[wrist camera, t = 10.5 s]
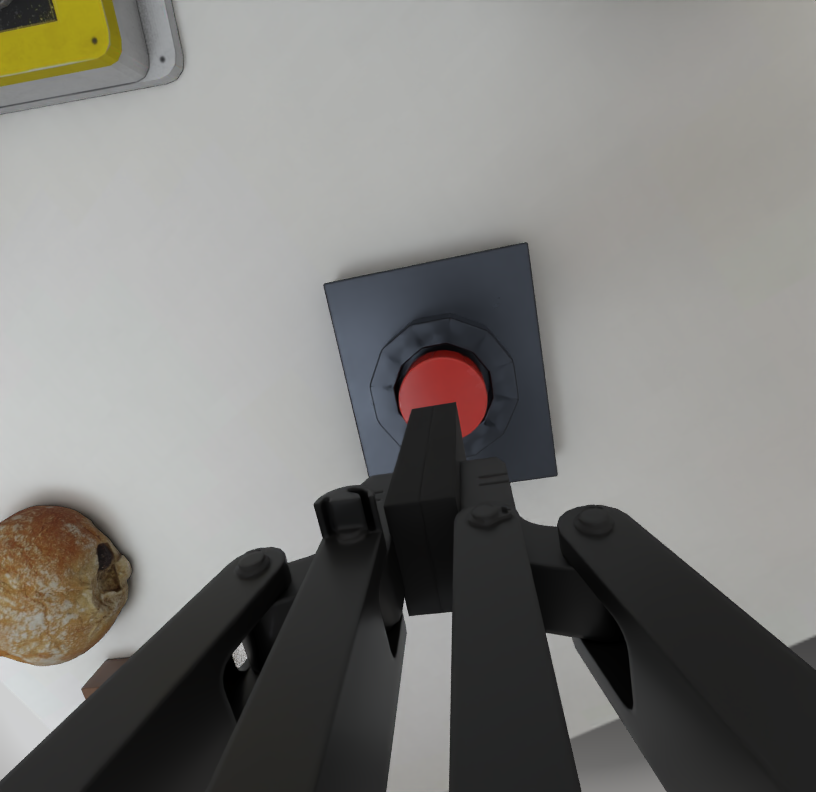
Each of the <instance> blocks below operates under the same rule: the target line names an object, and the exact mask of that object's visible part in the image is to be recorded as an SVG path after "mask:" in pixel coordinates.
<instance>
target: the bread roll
mask: <svg viewBox="0 0 816 792" xmlns="http://www.w3.org/2000/svg"><path fill="white" fill-rule="evenodd" d="M131 574H132V569H131V566H130V562H128V561H127V559H126V558H125V557H124V555H121V554H120V552H119V551H118V550H117V549H116V548H115V547H114V545H113V544H112V542H111V541H110V539H109V538H108V537H106V536H105V535H104V534H103V533H102V532H101V531H100V530H98V529H97V528H96V527H95V526H94V525H93V523H92V522H91V520H90V519H88V518H86V517H85V516H83V515H82V514H80V513H79V512H78V511H75V510H73V509H69V508H65V507H59V506H33V507H29V508H27V509H24V510H22V511H19V512H17V513H16V514H14V515H12V516H10V517H9V518H7V519H5V520H4V521H2V522H1V523H0V656H4V657H7V658H10V659H13V660H16V661H20V662H23V663H28V664H32V665H36V666H49V665H56V664H61V663H64V662H67V661H70V660H72V659H74V658H76V657H78V656H79V655H81V654H83V653H85V652H86V651H88V650H89V649H90V648H91V647H93V646H94V645H95V644H96V643H97V642H99V640H100V639H101V638H102V637H103V636H104V635H105V634H106V633H107V632H108V630H109V629H110V628H111V626H112V625H113V623H114V622H115V620H116V618H117V616H118V615H119V613H120V611H121V609H122V608H123V606H124V605H125V603H126V601H127V598H128V584H127V579H128V578H129V577H130V576H131Z"/></svg>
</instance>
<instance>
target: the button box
mask: <svg viewBox="0 0 816 792" xmlns="http://www.w3.org/2000/svg"><path fill="white" fill-rule="evenodd" d="M323 286H324V290H325V294H326V298H327V303H328V307H329V311H330V315H331V319H332V324H333V328H334V332H335V336H336V341H337V345H338V349H339V353H340V358H341V362H342V366H343V370H344V374H345V379H346V383H347V387H348V391H349V396H350V400H351V404H352V408H353V413H354V417H355V421H356V425H357V429H358V434H359V438H360V442H361V446H362V451H363V455H364V459H365V463H366V468H367V472H368V476H369V477H370V476H373V475H380V474H387V473H393V472H394V468H395V465H396V461H397V458H398V454H399V451H400V447H401V444H402V441H403V437H404V434H405V430H406V427H407V423H406V422H405V420H404V419H403V417H402V414H401V411H400V408H399V390H400V386H401V384H402V381H403V379H404V377H405V374H406V372H407V370H408V369H409V367H410V366H411V365H412V363H414V362H415V361H416V360H417V359H418V358H419V357H421V356H423V355H425V354H427V353H429V352H433V351H437V350H450V351H455V352H458V353H461V354H463V355H465V356H466V357H468V358H469V359H471V360H472V361H473V362H474V363H475V364H476V365H477V367H478V368H479V369H480V371H481V373H482V375H483V378H484V381H485V385H486V390H487V396H488V404H487V410H486V413H485V416H484V418H483V420H482V421H481V423H480V424H479V425H478V427H477V428H476V429H475V430H474V431H473V432H471V433H470V434H468V435H467V436H465V437H463V444H464V449H465V455H466V460H467V461H469V460H476V459H483V458H490V457H497V458H499V459H500V460H501V461H503V462H504V463H505V464H506V468H507V472H508V477H509V482H517V481H525V480H532V479H539V478H546V477H554V476H557V475H558V472H557V465H556V457H555V449H554V441H553V434H552V426H551V418H550V410H549V403H548V395H547V387H546V379H545V372H544V364H543V356H542V348H541V341H540V333H539V325H538V317H537V310H536V302H535V294H534V286H533V279H532V271H531V263H530V255H529V248H528V243H527V242H525V243H519V244H514V245H510V246H505V247H500V248H495V249H490V250H485V251H480V252H475V253H470V254H466V255H461V256H456V257H451V258H446V259H441V260H436V261H431V262H426V263H421V264H417V265H412V266H407V267H402V268H397V269H392V270H387V271H382V272H377V273H373V274H368V275H363V276H358V277H353V278H348V279H343V280H338V281H333V282H329V283H325V284H324V285H323Z"/></svg>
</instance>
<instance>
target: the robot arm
mask: <svg viewBox="0 0 816 792" xmlns="http://www.w3.org/2000/svg"><path fill="white" fill-rule="evenodd" d="M314 508H315V512H316V515H317V519H318V523H319V526H320V530H321V533H322V537H323V539H322V541H321V543H320V545H319V547H318V550H317V552H316V554H314V555H311V556H308V557H306V558H302V559H299V560H296V561H293V562H290V563H288V562H287V559H286V556H285V553H284V552H283V551H282V550H281V549H279V548H274V547H267V548H257V549H255V550H254V549H253V550H251V551H248V552H246V553H245V554H243V555H241V556H239V557H237V558H236V559H235V560H233V561H232V562H231V563H230V564H228V565H227V566H226V567H225V568H224V569H223V570H222V571H221V572H220V573H219V574H218V575H217V576H216V577H214V578H213V579H212V580H211V581H210V582H209V583H208V584H207V585H206V586H205V587H204V588H203V589H202V590H201V591H200V592H199V593H198V594H197V595H196V596H194V597H193V598H192V599H191V600H190V601H189V602H188V603H187V604H186V605H185V606H184V607H183V608H182V609H181V610H180V611H179V612H178V613H177V614H176V615H174V616H173V617H172V618H171V619H170V620H169V621H168V622H167V623H166V624H165V625H164V626H163V627H162V628H161V629H160V630H159V631H158V632H157V633H156V634H155V635H153V636H152V637H151V638H150V639H149V640H148V641H147V642H146V643H145V644H144V645H143V646H142V647H141V648H140V649H139V650H138V651H137V652H136V653H135V654H133V655H132V656H131V657H130V658H129V659H128V660H127V661H126V662H125V663H124V664H123V665H122V666H121V667H120V668H119V669H118V670H117V671H116V672H115V673H113V674H112V675H111V676H110V677H109V678H108V679H107V680H106V681H105V682H104V683H103V684H102V685H101V686H100V687H99V688H98V689H97V690H96V691H95V692H94V693H92V694H91V695H90V696H89V697H88V698H87V699H86V700H85V701H84V702H83V703H82V704H81V705H80V706H79V707H78V708H77V709H76V710H75V711H74V712H72V713H71V714H70V715H69V716H68V717H67V718H66V719H65V720H64V721H63V722H62V723H61V724H60V725H59V726H58V727H57V728H56V729H55V730H54V731H52V732H51V733H50V734H49V735H48V736H47V737H46V738H45V739H44V740H43V741H42V742H41V743H40V744H39V745H38V746H37V747H36V748H35V749H34V750H33V751H31V752H30V754H28V755H27V756H26V757H25V758H24V759H23V760H22V761H21V762H20V763H19V764H18V765H17V766H16V767H15V768H14V769H13V770H11V771H10V772H9V773H8V774H7V775H6V776H5V777H4V778H3V779H2V780H1V781H0V792H386V788H387V781H388V773H389V765H390V758H391V750H392V742H393V734H394V727H395V719H396V711H397V703H398V696H399V688H400V680H401V673H402V665H403V657H404V649H405V642H406V634H407V632H406V625H405V621H404V617H403V613H402V610H403V603H404V597H405V601H406V605H407V610H408V614H409V616H414V615H424V614H434V613H445V612H452V659H451V714H450V769H449V792H581V788H580V783H579V779H578V774H577V770H576V766H575V761H574V757H573V752H572V748H571V743H570V739H569V735H568V730H567V726H566V721H565V717H564V712H563V708H562V704H561V699H560V695H559V690H558V686H557V682H556V677H555V673H554V668H553V664H552V659H551V655H550V651H549V646H548V642H547V637H546V633H551V634H557V635H563V636H569V637H572V640H573V642H574V645H575V648H576V650H577V651H578V653H579V655H580V656H581V658H582V659H583V661H584V662H585V664H586V666H587V667H588V669H589V670H590V672H591V673H592V675H593V677H594V678H595V680H596V681H597V683H598V684H599V686H600V688H601V689H602V691H603V692H604V694H605V695H606V697H607V699H608V700H609V702H610V703H611V705H612V706H613V708H614V710H615V711H616V713H617V714H618V716H619V717H620V719H621V721H622V722H623V724H624V725H625V726H626V728H627V730H628V731H629V733H630V735H631V736H632V738H633V739H634V741H635V743H636V744H637V745H638V747H639V749H640V751H641V752H642V754H643V755H644V757H645V758H646V760H647V761H648V763H649V765H650V766H651V768H652V769H653V771H654V773H655V774H656V776H657V777H658V779H659V780H660V782H661V784H662V785H663V787H664V788H665V790H666V791H667V792H816V670H815V669H813V668H812V667H811V666H810V665H809V664H807V663H806V662H805V661H804V660H803V659H802V658H800V657H799V656H798V655H797V654H795V653H794V652H793V651H792V650H791V649H789V648H788V647H787V646H786V645H785V644H783V643H782V642H781V641H780V640H779V639H777V638H776V637H775V636H774V635H773V634H771V633H770V632H769V631H768V630H766V629H765V628H764V627H763V626H762V625H760V624H759V623H758V622H757V621H756V620H754V619H753V618H752V617H751V616H750V615H748V614H747V613H746V612H745V611H744V610H742V609H741V608H740V607H739V606H737V605H736V604H735V603H734V602H733V601H731V600H730V599H729V598H728V597H727V596H725V595H724V594H723V593H722V592H721V591H719V590H718V589H717V588H716V587H714V586H713V585H712V584H711V583H710V582H708V581H707V580H706V579H705V578H704V577H702V576H701V575H700V574H699V573H698V572H696V571H695V570H694V569H693V568H692V567H690V566H689V565H688V564H687V563H685V562H684V561H683V560H682V559H681V558H679V557H678V556H677V555H676V554H675V553H673V552H672V551H671V550H670V549H669V548H667V547H666V546H665V545H664V544H662V543H661V542H660V541H659V540H658V539H656V538H655V537H654V536H653V535H652V534H650V533H649V532H648V531H647V530H646V529H644V528H643V527H642V526H641V525H640V524H638V523H637V522H636V521H635V520H633V519H632V518H631V517H630V516H629V515H627V514H626V513H624V512H622V511H620V510H618V509H616V508H612V507H608V506H603V505H586V506H581V507H576V508H574V509H571V510H569V511H566V512H565V513H564V514H563V515H562V516H560V517H559V520H558V524H557V527H553V526H543V525H537V524H534V523H530V522H528V521H526V520H524V519H523V518H522V517H520V516H519V514H518V512H517V510H516V508H515V503H514V499H513V495H512V490H511V486H510V482H509V477H508V472H507V468H506V464H505V463H504V462H503V461H501V460H500V459H499V458H497V457H490V458H483V459H476V460H469V461H467V460H466V455H465V449H464V444H463V438H462V432H461V427H460V421H459V416H458V410H457V405H456V402H452V403H446V404H440V405H434V406H428V407H421V408H415V409H412V410H411V413H410V416H409V420H408V423H407V427H406V430H405V434H404V437H403V441H402V444H401V447H400V451H399V454H398V458H397V461H396V465H395V468H394V472H393V473H387V474H380V475H373V476H370V477H369V478H368V479H367V480H366V481H365V482H363V483H362V484H361V485H353V486H346V487H342V488H338V489H335V490H333V491H330V492H328V493H326V494H325V495H323V496H321V497H320V498H319V499H318V500H317V501H316V502H315V503H314ZM241 642H242V643H243V646H244V649H245V652H246V655H247V657H248V658H247V660H246V661H245V662H244V664H243V665H242V666H241V667H239V668H237V667H236V666H235V663H234V660H233V657H232V653H233V652H234V651H235V650H236V649H237V647H238V646H239V645H240V644H241Z"/></svg>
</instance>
